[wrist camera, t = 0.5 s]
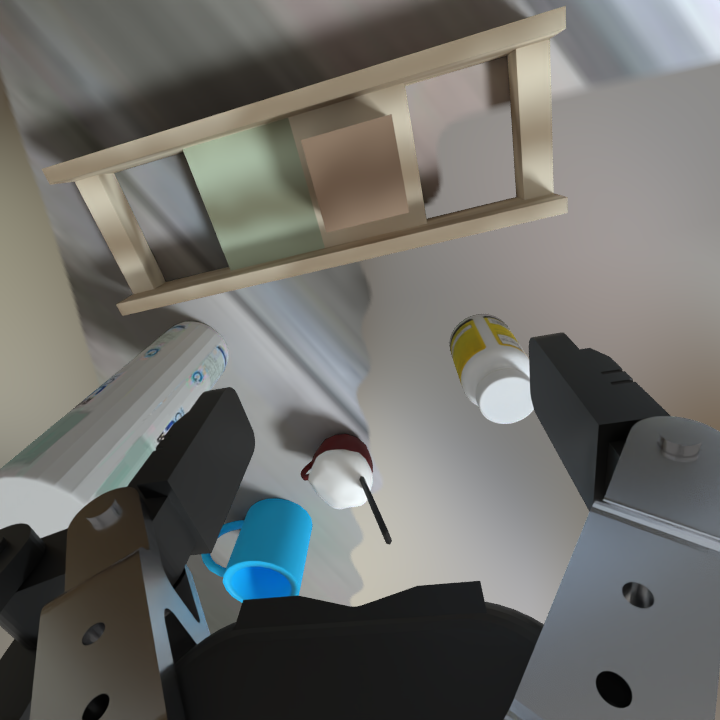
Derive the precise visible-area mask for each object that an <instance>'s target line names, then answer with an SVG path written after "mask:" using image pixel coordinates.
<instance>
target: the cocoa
mask: <svg viewBox="0 0 720 720" xmlns="http://www.w3.org/2000/svg"><path fill="white" fill-rule="evenodd" d="M309 469H311V471H310V473H309V474H307V475H306V473H307V472H308V470H309ZM372 472H373V464H372V460H371V457H370V454H369V451H368V449H367V447H366V445H365V444H364V443H363V442H362V441H360V440H359V439H358V438H357V437H354V436H351V435H348V434H338V435H334V436H332V437H330V438H327V439H325V440H324V442H323V443H322V444H321V446H320V447H319V448H318V450H317V451H316V453H315V454H314V456H313V459H312V461H311V462H310V463H309V464H307V465H306V466H305V467H304V468H303V470H302V471H301V477H302V478H303V480H308V481H309V483H310V484H311V485H312V487H313V489H314V490H315V492H316V493H317V494H318V495H319V496H320V497H321V498H322V499H323V500H324V501H325V502H326V503H327V504H329V505H330V506H331V507H332V508H335V509H344V508H348V507H357V506H358V507H359V506H361V505H363V504H364V503H365V502H366V501H367V500H368V502H369V504H370V506H371V509H372V511H373V514H374V515H375V518H376V521H377V523H378V525H379V528H380V530H381V532H382V535H383V537H384V539H385V542H386V543H387V544H390V543H391V541H392V540H391V537H390V535H389V533H388V530H387V528H386V526H385V523H384V521H383V519H382V516H381V514H380V512H379V510H378V508H377V505H376V503H375V501H374V499H373V496H372V494H371V488H372V483H373V478H372Z"/></svg>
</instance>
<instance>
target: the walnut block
mask: <svg viewBox="0 0 720 720" xmlns="http://www.w3.org/2000/svg"><path fill="white" fill-rule="evenodd" d="M301 142H302V146H303V150H304V153H305V157H306V161H307V164H308V168H309V172H310V175H311V179H312V182H313V186H314V190H315V193H316V197H317V201H318V204H319V208H320V212H321V215H322V219H323V222H324V226H325V230H326V233H328V232H332V231H336V230H340V229H345V228H349V227H353V226H357V225H361V224H365V223H369V222H373V221H377V220H381V219H385V218H389V217H393V216H397V215H401V214H405V213H409V208H408V203H407V197H406V191H405V186H404V180H403V175H402V169H401V164H400V158H399V152H398V147H397V141H396V136H395V130H394V125H393V119H392V114H390V115H387V116H383V117H380V118H376V119H373V120H369V121H366V122H362V123H359V124H356V125H352V126H349V127H345V128H342V129H338V130H335V131H331V132H328V133H324V134H321V135H317V136H314V137H311V138H307V139H304V140H301Z"/></svg>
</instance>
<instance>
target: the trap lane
mask: <svg viewBox="0 0 720 720" xmlns="http://www.w3.org/2000/svg"><path fill="white" fill-rule="evenodd" d="M564 29H566V6H564V7H560V8H557V9H554V10H551V11H548V12H544V13H541V14H538V15H535V16H532V17H528V18H525V19H522V20H519V21H516V22H512V23H509V24H506V25H503V26H499V27H496V28H493V29H490V30H487V31H483V32H480V33H477V34H474V35H471V36H467V37H464V38H461V39H458V40H454V41H451V42H448V43H445V44H442V45H438V46H435V47H432V48H429V49H426V50H422V51H419V52H416V53H413V54H410V55H406V56H403V57H400V58H397V59H393V60H390V61H387V62H384V63H381V64H377V65H374V66H371V67H368V68H365V69H361V70H358V71H355V72H352V73H348V74H345V75H342V76H339V77H336V78H332V79H329V80H326V81H323V82H320V83H316V84H313V85H310V86H307V87H304V88H300V89H297V90H294V91H291V92H287V93H284V94H281V95H278V96H275V97H271V98H268V99H265V100H262V101H259V102H255V103H252V104H249V105H246V106H242V107H239V108H236V109H233V110H230V111H226V112H223V113H220V114H217V115H214V116H210V117H207V118H204V119H201V120H198V121H194V122H191V123H188V124H185V125H181V126H178V127H175V128H172V129H169V130H165V131H162V132H159V133H156V134H153V135H149V136H146V137H143V138H140V139H136V140H133V141H130V142H127V143H124V144H120V145H117V146H114V147H111V148H108V149H104V150H101V151H98V152H95V153H92V154H88V155H85V156H82V157H79V158H75V159H72V160H69V161H66V162H63V163H59V164H56V165H53V166H50V167H47V168H43V169H42V171H43V173H44V174H45V176H46V178H47V180H48V182H49V184H59V183H67V182H75V183H76V185H77V187H78V189H79V191H80V193H81V195H82V197H83V199H84V200H85V202H86V204H87V206H88V208H89V210H90V212H91V214H92V216H93V218H94V220H95V221H96V223H97V225H98V227H99V229H100V231H101V233H102V235H103V237H104V239H105V241H106V243H107V244H108V246H109V248H110V250H111V252H112V254H113V256H114V258H115V260H116V262H117V264H118V265H119V267H120V269H121V271H122V273H123V275H124V277H125V279H126V281H127V283H128V285H129V286H130V288H131V290H132V292H133V295H131V296H130V297H128V298H126V299H124V300H123V301H121V302H119V303H118V304H116V305H117V307H118V309H119V311H120V313H121V314H122V316H124V315H129V314H133V313H137V312H141V311H146V310H150V309H154V308H159V307H163V306H167V305H172V304H176V303H180V302H185V301H189V300H193V299H198V298H202V297H206V296H211V295H215V294H219V293H224V292H228V291H232V290H237V289H241V288H245V287H250V286H254V285H258V284H262V283H267V282H271V281H275V280H280V279H284V278H288V277H293V276H297V275H301V274H306V273H310V272H314V271H319V270H323V269H327V268H332V267H336V266H340V265H345V264H349V263H353V262H358V261H362V260H366V259H371V258H374V257H379V256H383V255H388V254H392V253H396V252H401V251H405V250H409V249H413V248H418V247H422V246H427V245H431V244H435V243H440V242H444V241H448V240H453V239H457V238H461V237H466V236H470V235H474V234H479V233H483V232H487V231H491V230H496V229H500V228H504V227H509V226H513V225H517V224H522V223H526V222H530V221H534V220H539V219H543V218H548V217H552V216H556V215H560V214H565V213H567V197H565V196H561V195H558V194H554V193H553V154H552V112H551V111H552V110H551V68H550V38H552V37H553V36H555V35H557V34H558V33H560V32H561V31H563V30H564ZM504 56H508V72H509V87H510V103H511V118H512V134H513V150H514V167H515V182H516V197H515V198H511V199H506V200H503V201H499V202H494V203H490V204H486V205H482V206H478V207H473V208H469V209H465V210H461V211H457V212H453V213H449V214H444V215H440V216H436V217H432V218H428V219H426V213H425V207H424V201H423V195H422V188H421V182H420V176H419V170H418V164H417V158H416V151H415V145H414V139H413V133H412V127H411V121H410V114H409V108H408V102H407V96H406V90H405V86H407V85H410V84H413V83H417V82H420V81H423V80H427V79H430V78H433V77H437V76H440V75H444V74H447V73H450V72H454V71H457V70H460V69H464V68H467V67H470V66H474V65H477V64H480V63H484V62H487V61H490V60H494V59H497V58H500V57H504ZM390 114H392V119H393V125H394V130H395V136H396V141H397V147H398V152H399V158H400V164H401V169H402V175H403V180H404V186H405V191H406V197H407V203H408V208H409V213H405V214H401V215H397V216H393V217H389V218H385V219H381V220H377V221H373V222H369V223H365V224H361V225H357V226H353V227H349V228H345V229H340V230H336V231H332V232H328V233H326V230H325V226H324V222H323V219H322V215H321V212H320V208H319V204H318V201H317V197H316V193H315V190H314V186H313V182H312V179H311V175H310V172H309V168H308V164H307V161H306V157H305V153H304V150H303V146H302V142H301V140H304V139H307V138H311V137H314V136H317V135H321V134H324V133H328V132H331V131H335V130H338V129H342V128H345V127H349V126H352V125H356V124H359V123H362V122H366V121H369V120H373V119H376V118H380V117H383V116H387V115H390ZM183 152H184V154H185V157H186V159H187V162H188V164H189V167H190V169H191V172H192V174H193V177H194V179H195V182H196V184H197V187H198V189H199V192H200V194H201V197H202V200H203V202H204V205H205V207H206V210H207V212H208V215H209V217H210V220H211V222H212V225H213V227H214V230H215V232H216V235H217V237H218V240H219V242H220V245H221V247H222V250H223V252H224V255H225V257H226V260H227V262H228V265H229V267H226V268H222V269H217V270H213V271H209V272H205V273H201V274H197V275H193V276H189V277H184V278H180V279H176V280H172V281H168V282H166V281H165V279H164V277H163V275H162V273H161V271H160V269H159V266H158V264H157V262H156V260H155V258H154V256H153V254H152V252H151V250H150V248H149V246H148V243H147V241H146V239H145V237H144V235H143V233H142V231H141V229H140V227H139V225H138V223H137V220H136V218H135V216H134V214H133V212H132V210H131V208H130V206H129V204H128V202H127V200H126V197H125V195H124V193H123V191H122V189H121V187H120V185H119V183H118V181H117V179H116V177H115V174H114V173H116V172H119V171H122V170H126V169H129V168H132V167H136V166H139V165H142V164H146V163H149V162H153V161H156V160H159V159H163V158H166V157H169V156H173V155H176V154H179V153H183Z"/></svg>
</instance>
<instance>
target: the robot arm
mask: <svg viewBox="0 0 720 720" xmlns="http://www.w3.org/2000/svg"><path fill="white" fill-rule="evenodd" d="M529 372H530V395H531V400H532V404H533V408H534V410H535V413H536V415H537V417H538V419H539V420H540V422H541V424H542V426H543V427H544V429H545V431H546V433H547V435H548V437H549V439H550V440H551V442H552V444H553V446H554V448H555V449H556V451H557V453H558V455H559V457H560V459H561V460H562V462H563V464H564V466H565V468H566V469H567V471H568V473H569V475H570V477H571V479H572V480H573V482H574V484H575V486H576V487H577V489H578V491H579V493H580V495H581V497H582V499H583V500H584V502H585V504H586V506H587V508H588V509H589V511H590V512H589V515H588V517H587V520H586V522H585V525H584V527H583V530H582V532H581V535H580V537H579V539H578V542H577V544H576V547H575V549H574V552H573V554H572V557H571V559H570V562H569V564H568V567H567V569H566V572H565V574H564V577H563V579H562V581H561V584H560V586H559V589H558V591H557V594H556V596H555V599H554V601H553V604H552V606H551V609H550V611H549V613H548V616H547V619H546V621H545V623H544V624H542V623H540V622H539V621H537V620H535V619H534V618H532V617H530V616H528V615H525V614H523V613H521V612H519V611H516V610H514V609H511V608H508V607H505V606H501V605H498V604H494V603H489V602H484V597H483V592H482V588H481V583H480V581H473V582H461V583H448V584H435V585H424V586H416V587H413V588H410V589H408V590H405V591H402V592H399V593H396V594H393V595H390V596H387V597H385V598H382V599H379V600H376V601H373V602H370V603H367V604H364V605H362V606H358V607H350V606H345V605H340V604H335V603H331V602H326V601H321V600H316V599H312V598H307V597H302V596H285V597H273V598H260V599H248V600H243V603H242V606H241V609H240V612H239V616H238V619H237V622H235V623H232V624H230V625H228V626H226V627H224V628H222V629H220V630H218V631H216V632H215V633H213V634H211V635H210V632H209V629H208V626H207V623H206V619H205V616H204V613H203V610H202V606H201V603H200V600H199V597H198V593H197V590H196V587H195V584H194V580H193V577H192V574H191V572H190V570H189V568H188V567H187V565H186V563H187V561H188V559H189V557H190V555H198V554H208V553H211V552H212V550H213V548H214V545H215V543H216V541H217V538H218V536H219V533H220V531H221V529H222V526H223V524H224V521H225V519H226V517H227V514H228V512H229V510H230V507H231V505H232V502H233V500H234V498H235V495H236V493H237V491H238V488H239V486H240V483H241V481H242V479H243V476H244V474H245V471H246V469H247V467H248V464H249V462H250V460H251V457H252V455H253V452H254V448H255V437H254V433H253V430H252V427H251V425H250V423H249V420H248V418H247V416H246V413H245V411H244V409H243V406H242V404H241V402H240V400H239V397H238V395H237V393H236V391H235V390H234V389H233V388H231V387H228V388H222V389H216V390H210V391H205V392H203V393H202V394H201V395H200V397H199V398H198V399H197V401H196V402H195V404H194V405H193V406H192V408H191V409H190V411H188V412H187V413H186V414H185V415H184V416H182V417H181V418H180V419H179V420H178V421H176V422H175V423H174V424H173V425H172V427H171V428H170V429H169V431H168V432H167V433H166V435H165V436H164V439H163V440H161V441H160V443H159V444H158V445H157V447H156V451H153V452H152V453H151V455H150V456H149V457H148V459H147V460H146V461H145V463H144V464H143V466H142V467H141V468H140V470H139V471H138V472H137V474H136V475H135V476H134V478H133V479H132V480H131V482H130V483H129V484H128V486H127V487H121V488H117V489H113V490H111V491H108V492H106V493H104V494H102V495H100V496H98V497H97V498H95V499H94V500H92V501H91V502H89V503H88V504H87V505H86V506H84V507H83V508H82V509H81V510H80V511H79V512H78V513H77V514H76V515H75V517H74V518H73V519H72V521H71V523H70V524H69V527H68V528H67V529H64V530H61V531H59V532H56V533H53V534H51V535H48V536H45V537H42V538H40V537H39V536H38V535H37V534H36V533H35V531H34V530H33V529H32V528H31V527H30V526H29V525H28V524H24V523H19V524H14V525H10V526H7V527H5V528H3V529H0V626H1V627H2V628H3V629H4V630H6V631H7V632H8V633H9V634H10V635H11V636H12V637H13V638H14V641H13V642H12V643H11V645H10V646H9V648H8V649H7V651H6V652H5V653H4V655H3V656H2V658H1V659H0V720H715V711H716V701H717V690H718V680H719V670H720V432H719V431H717V430H716V429H714V428H712V427H710V426H708V425H705V424H703V423H700V422H697V421H694V420H690V419H686V418H680V417H672V416H670V415H669V414H668V413H667V412H666V411H665V410H664V409H663V408H662V407H661V406H660V405H659V404H658V403H657V402H656V401H655V400H654V399H653V398H652V397H650V395H648V393H646V392H645V391H644V390H643V389H642V388H641V387H640V386H639V385H638V384H637V383H636V382H633V379H632V378H631V377H630V376H629V375H628V374H627V373H626V372H625V371H624V372H623V371H622V368H621V367H620V366H619V365H618V364H617V363H616V362H614V361H613V360H612V359H611V358H610V357H609V356H607V355H605V354H602V353H600V352H598V351H595V350H593V349H591V348H587V349H580V350H579V348H578V347H577V346H576V345H575V344H574V343H573V342H572V341H571V340H570V339H569V338H568V337H567V335H566V334H564V333H556V334H550V335H544V336H538V337H532V338H531V339H530V341H529Z"/></svg>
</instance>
